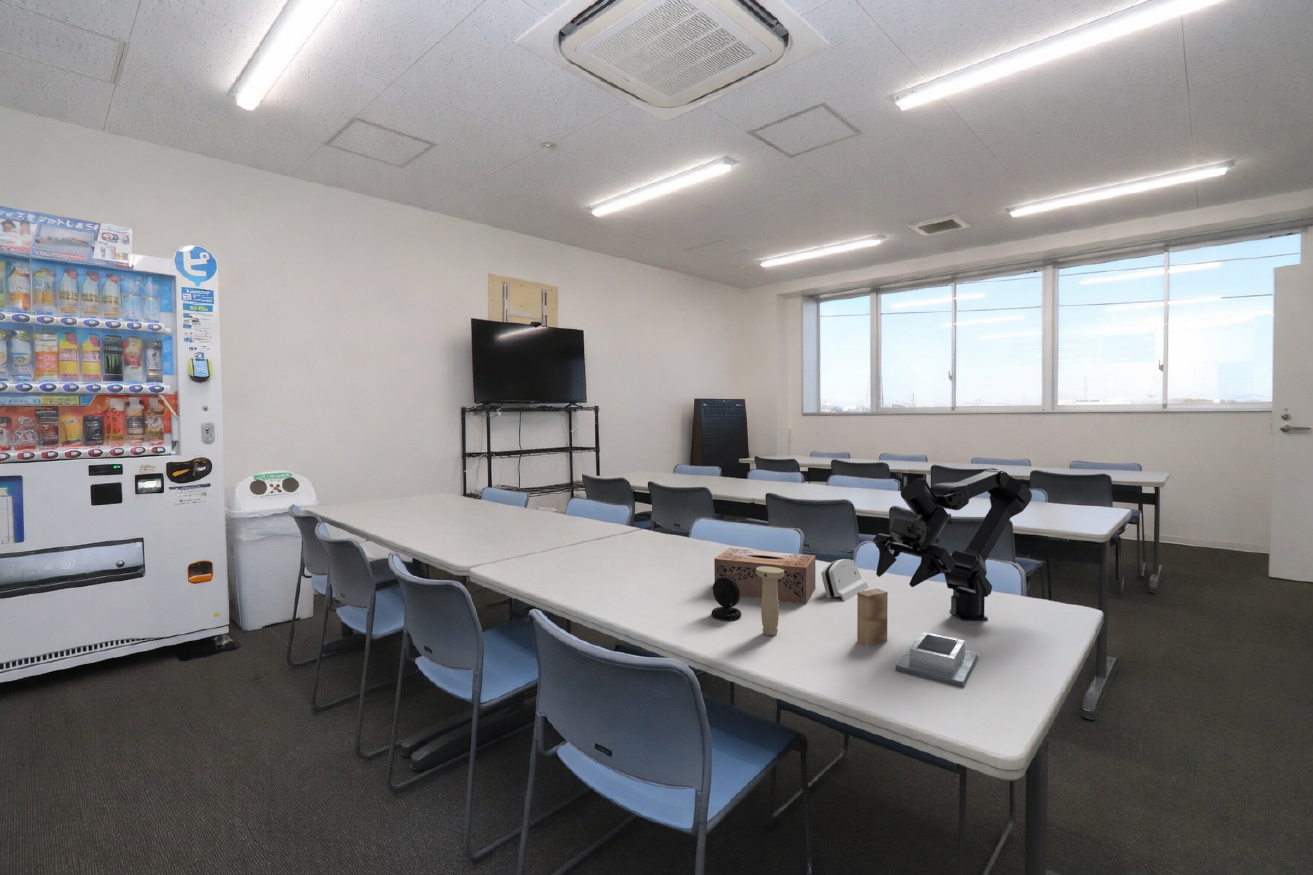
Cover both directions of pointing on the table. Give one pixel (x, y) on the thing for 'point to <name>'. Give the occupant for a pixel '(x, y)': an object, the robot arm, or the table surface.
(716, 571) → the tissue box cover
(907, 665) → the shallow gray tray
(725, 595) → the webcam
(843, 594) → the hinge
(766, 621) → the handle
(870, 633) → the tan tall block
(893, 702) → the table surface
